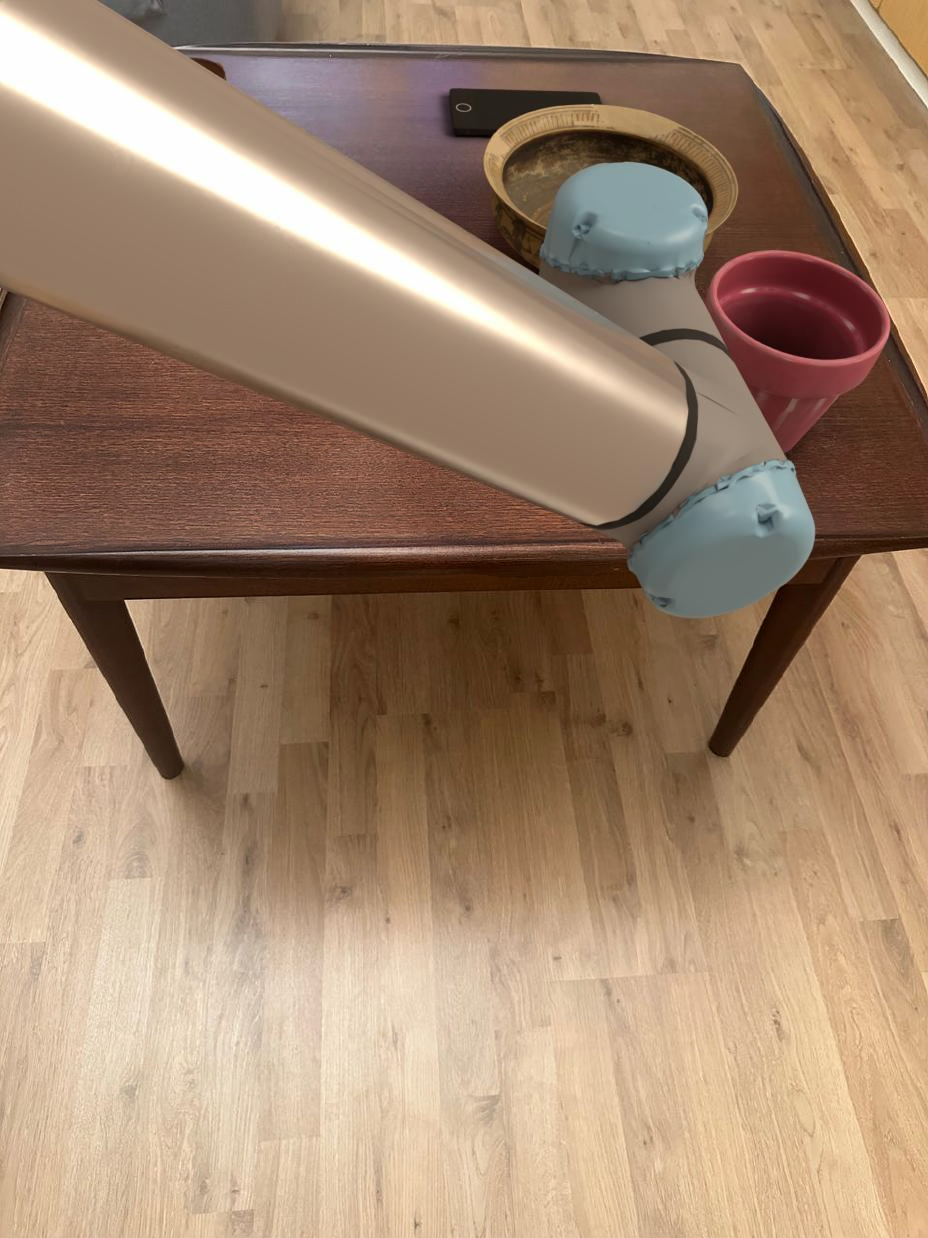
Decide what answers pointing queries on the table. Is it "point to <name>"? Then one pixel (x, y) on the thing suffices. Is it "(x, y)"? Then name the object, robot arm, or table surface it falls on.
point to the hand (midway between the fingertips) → (241, 189)
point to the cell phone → (505, 106)
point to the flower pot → (796, 333)
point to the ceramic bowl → (582, 137)
